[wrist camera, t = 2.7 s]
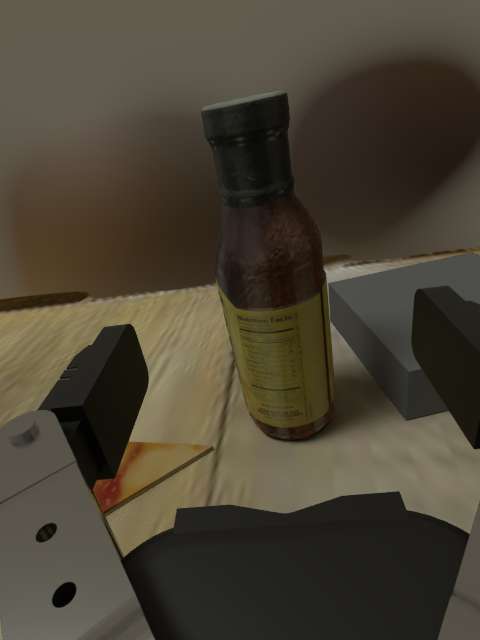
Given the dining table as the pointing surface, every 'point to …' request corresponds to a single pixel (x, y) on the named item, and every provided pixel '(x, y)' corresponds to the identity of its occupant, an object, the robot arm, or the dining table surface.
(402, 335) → the charcoal base
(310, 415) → the sauce bottle
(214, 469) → the dining table surface
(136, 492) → the pizza slice
